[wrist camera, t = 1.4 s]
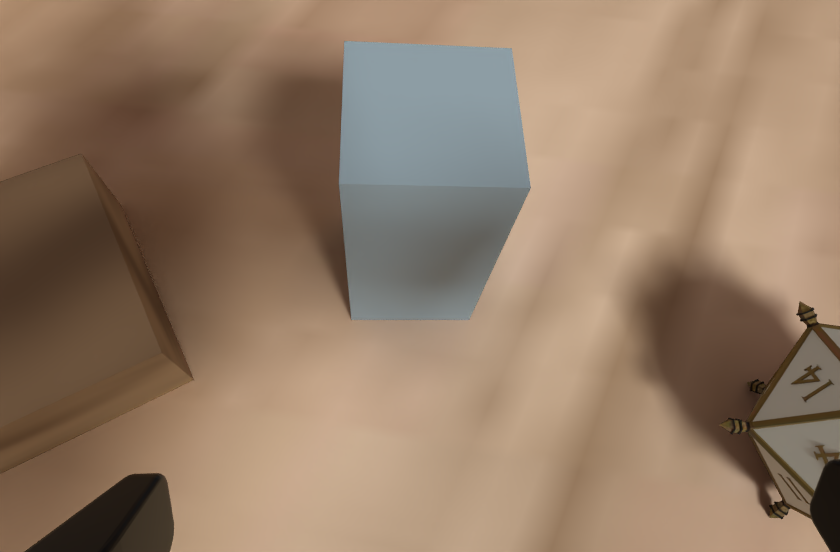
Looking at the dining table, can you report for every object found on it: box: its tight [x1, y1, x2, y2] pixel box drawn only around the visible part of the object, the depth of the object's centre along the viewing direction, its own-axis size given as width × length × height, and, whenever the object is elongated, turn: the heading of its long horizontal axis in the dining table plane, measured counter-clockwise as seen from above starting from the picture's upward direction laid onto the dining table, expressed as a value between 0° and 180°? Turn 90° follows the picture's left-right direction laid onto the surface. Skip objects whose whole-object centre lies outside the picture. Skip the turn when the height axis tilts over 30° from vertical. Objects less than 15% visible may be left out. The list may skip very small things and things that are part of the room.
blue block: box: [339, 41, 531, 320], centre depth 20 cm, size 5×5×10 cm
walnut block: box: [0, 154, 194, 474], centre depth 20 cm, size 9×9×4 cm
